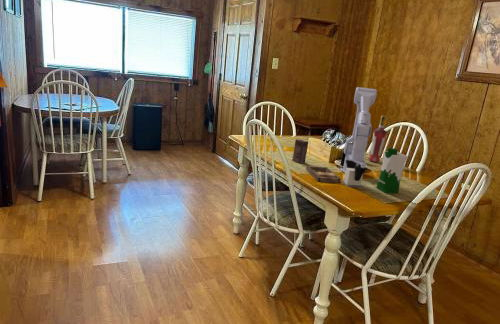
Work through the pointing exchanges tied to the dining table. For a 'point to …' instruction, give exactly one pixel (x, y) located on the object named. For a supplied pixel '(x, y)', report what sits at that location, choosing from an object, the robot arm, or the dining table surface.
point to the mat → (352, 185)
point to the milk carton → (391, 171)
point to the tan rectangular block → (326, 174)
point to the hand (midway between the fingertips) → (353, 177)
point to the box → (300, 151)
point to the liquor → (378, 141)
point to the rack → (322, 179)
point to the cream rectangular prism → (351, 177)
